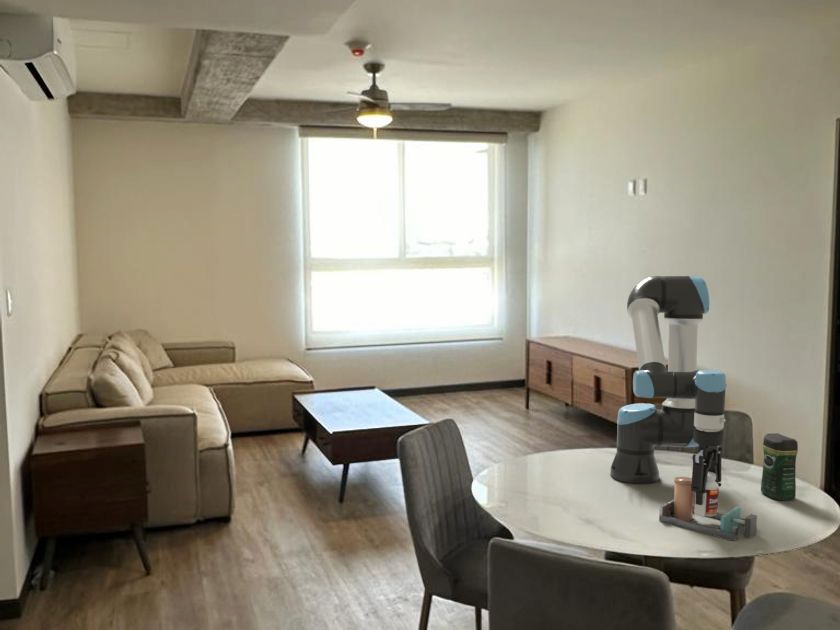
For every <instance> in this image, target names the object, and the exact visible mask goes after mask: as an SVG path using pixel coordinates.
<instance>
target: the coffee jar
mask: <svg viewBox="0 0 840 630" xmlns="http://www.w3.org/2000/svg"><path fill="white" fill-rule="evenodd" d="M798 444H799V443H798V440H797V439H794V438H792V437H789V436H786V435H783V434H780V433H777V432H776V433H773V432H771V433H767V434H765V435H764V437H763V442H762V450H763V464H762V465H763V466H762V473H761V481H760V492H761V493H762V494H764V495H765V496H767V497H769V498H771V499H773V500H781V501H782V500H783V501H790V500H793V499H795V498H796V493H797V492H796V491H797V487H796V486H797V485H796V484H797V483H796V482H797V481H796V468H797V467H796V465H797V464H796V463H797V462H796V460H797V456H798V453H799V452H798V451H799V449H798V448H799V447H798V446H799V445H798Z"/></svg>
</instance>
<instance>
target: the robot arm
mask: <svg viewBox="0 0 840 630" xmlns="http://www.w3.org/2000/svg"><path fill="white" fill-rule="evenodd" d="M707 285H708V284H707V283H706V281H705V279H704V278H703V277H700V276H692V275H685V276H684V275H675V276H674V275H664V276H663V275H651V276H649V277H645V278H644V279H642V280H641V281H639V282H638V283H637V284H635V286H634V287H633V288H632V290H631V291H630V294H629V295H628V298H627V303H626V305H627V306H626V307H627V308H626V309H627V314H628V316H629V318H630V319H631V321H632V329H633V334H634V335H633V336H634V342H635V351H636V357H637V358H636V359H637V364H638V370H635V372H633V377H632V378H633V379H632V389H633V394H634V396H635V397H637V398H645V399H665V400H664V401H663V402H662V403H661V409H658V408H657V407H656V405H654V404H652V403H642V402H638V403H631V404H627V405H623V406H622V407H620V408H619V410H618V413H617V420H616V424H617V427H616V428H617V429H616V430H617V432H616V433H617V435H616V452H615V454H614V455H615V456H614V457H613V459H612V463H611V466H610V477H611V478H612V479H615V480H618V481H620V482H624V483H629V484H638V485H639V484H641V485H642V484H652V483H654V482H658V481H659V480H660V470H659V466H658V464H657V459H656V457H655V447H675V448H677V447H678V448H683V449H685V448H697V447H698V448H697V454H692V472H691V473H692V476H691V478H692V485H691V490H692V491H694V492H695V512H693V514H694V515H693V516H698V517H701V518H706V517H705V515H706V493H705V487H706V481H707V475H708V472H713V473H715V474H716V480H715V482H717V483H718V486H719V487H721V486H722V483H721V482H722V459H723V458H722V455H723V446H721V445H723V444H724V436H725V435H724V433H725V432H724V430H723V429H724V427H725V426H724V425H725V423H726V421H727V420H726V418H725V409H726V408H725V405H726V388H727V383H726V380H727V379H726V378H727V377H726V374H725V372H723V371H721V370H720V371H719V370H715V369H701V370H700V369H697V366H698V365H697V363H698V362H697V361H698V360H697V358H698V327H699V326H698V325H699V324H700V322H702V321H703V319H704V315H705V314H708V313H709V310H710V294H709V290H708V286H707ZM660 313H661V314H662V313H663V318H664V320H665V321H666V322H667V323H668V350H667V351H668V352H667V353H668V354H667V355H668V357H667V358H668V359H667V365H666V358H665V352H664V346H663V340H662V335H661V329H660V328H661V327H660V324H659V323H660V322H659V317H658V315H659V314H660Z"/></svg>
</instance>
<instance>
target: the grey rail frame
mask: <svg viewBox="0 0 840 630" xmlns="http://www.w3.org/2000/svg"><path fill="white" fill-rule="evenodd" d="M693 513H694V511H693ZM725 514H726V513H725V512H721V511H717V515H716V516H713V517H712V518H714V519H719V520H721V516H723V515H725ZM672 516H673V517H672ZM745 518H746V517H740V519H741V520H745ZM658 521H659V522H662V523H666V524H670V525H673V526H678V527H680V528H681V527H682V528H685V529H688V530H691V531H697V532H700V533H703V534H707V535H710V536H714V537H718V538H722V539H726V540H729V541H732V542H734V541H736V540H737V539H738V538H739V526H738V527H736V526H734V527H732V531H731V532H726V531H722V530H720V529H717V528H714V527H711V526H707V525H703V524H698V523H695V522H691V521H684V520H680V519H677V518H674V498H673V499H671V500H669V501H667V502H665V503H663V504H662V505H660V506H659V517H658ZM740 526H745V524H741V523H740Z"/></svg>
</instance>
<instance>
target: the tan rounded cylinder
mask: <svg viewBox="0 0 840 630" xmlns="http://www.w3.org/2000/svg"><path fill="white" fill-rule="evenodd" d="M673 482H674V488H673V489H674V494H673V495H674V496H673V499H674V515H673V518H677V519H680V520H684V521H688V522H691V521H692V520H693V516H694V515H693V514H694V512H693V501H694V491H692V490H691V485H692V477H689V476H676V477H674V480H673Z"/></svg>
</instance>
